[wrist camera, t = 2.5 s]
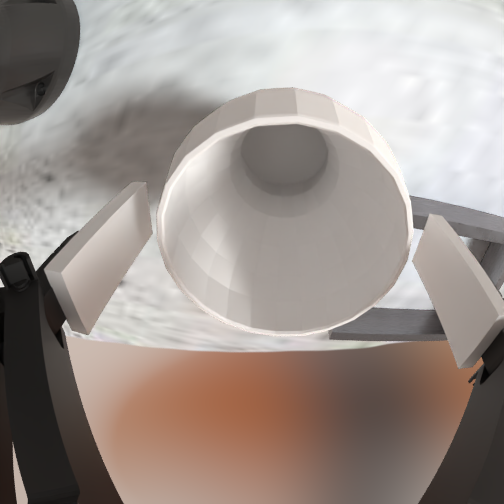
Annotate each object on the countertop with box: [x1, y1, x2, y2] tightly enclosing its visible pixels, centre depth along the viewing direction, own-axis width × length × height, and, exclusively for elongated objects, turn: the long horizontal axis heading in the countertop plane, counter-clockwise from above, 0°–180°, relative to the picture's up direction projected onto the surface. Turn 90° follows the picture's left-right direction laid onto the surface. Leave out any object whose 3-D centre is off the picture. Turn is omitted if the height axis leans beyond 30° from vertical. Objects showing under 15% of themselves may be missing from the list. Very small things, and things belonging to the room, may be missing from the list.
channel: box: [328, 196, 504, 341], centre depth 26 cm, size 19×15×4 cm
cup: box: [156, 87, 414, 336], centre depth 16 cm, size 11×11×15 cm
